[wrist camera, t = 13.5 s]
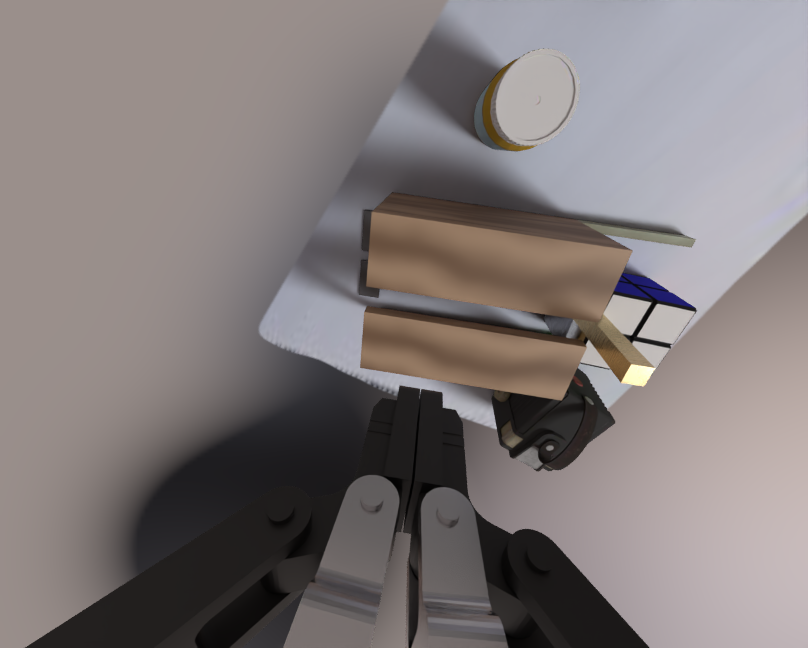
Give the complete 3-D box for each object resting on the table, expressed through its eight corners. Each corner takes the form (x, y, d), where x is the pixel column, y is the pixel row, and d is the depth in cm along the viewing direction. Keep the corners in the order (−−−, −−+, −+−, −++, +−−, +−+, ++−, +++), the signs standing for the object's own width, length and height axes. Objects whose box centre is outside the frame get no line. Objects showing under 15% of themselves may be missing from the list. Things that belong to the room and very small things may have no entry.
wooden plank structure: (366, 188, 43) (334, 206, 31) (685, 235, 42) (790, 274, 29) (358, 309, 52) (331, 362, 39) (622, 351, 51) (682, 420, 38)
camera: (481, 396, 58) (493, 470, 45) (536, 340, 51) (568, 406, 38) (530, 423, 60) (555, 502, 46) (589, 372, 53) (637, 446, 40)
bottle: (525, 153, 40) (566, 157, 26) (467, 145, 40) (480, 145, 27) (544, 82, 36) (602, 47, 23) (481, 74, 36) (503, 34, 23)
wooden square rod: (569, 247, 44) (657, 318, 26) (584, 249, 44) (683, 321, 26) (542, 319, 49) (599, 419, 31) (555, 321, 49) (621, 423, 31)
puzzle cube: (650, 277, 45) (700, 309, 36) (615, 338, 50) (651, 379, 41) (578, 263, 45) (611, 291, 36) (550, 325, 50) (573, 363, 41)
